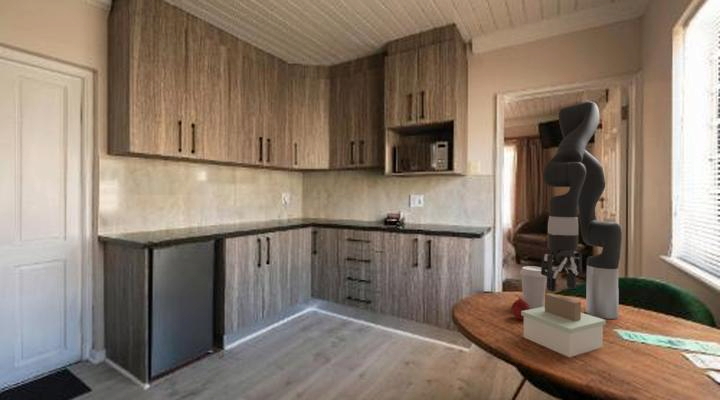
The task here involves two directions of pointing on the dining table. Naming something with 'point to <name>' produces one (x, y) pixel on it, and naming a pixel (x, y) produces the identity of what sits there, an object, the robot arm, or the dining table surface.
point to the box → (563, 338)
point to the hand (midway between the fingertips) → (561, 289)
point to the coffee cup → (533, 286)
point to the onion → (519, 308)
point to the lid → (563, 315)
